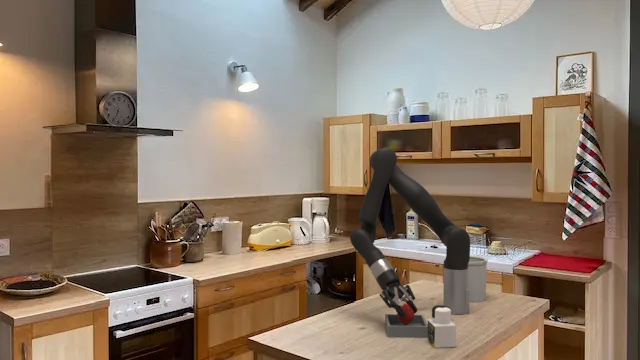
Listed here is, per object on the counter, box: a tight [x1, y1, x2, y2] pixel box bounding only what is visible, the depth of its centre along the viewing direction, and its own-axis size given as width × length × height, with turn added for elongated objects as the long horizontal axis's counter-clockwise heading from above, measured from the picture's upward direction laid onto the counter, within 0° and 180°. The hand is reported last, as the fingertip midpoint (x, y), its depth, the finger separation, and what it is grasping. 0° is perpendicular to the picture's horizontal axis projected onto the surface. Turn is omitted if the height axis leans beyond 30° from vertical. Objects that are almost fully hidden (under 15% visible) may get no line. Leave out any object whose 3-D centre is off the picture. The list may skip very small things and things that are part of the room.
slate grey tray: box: [384, 313, 428, 339], centre depth 172 cm, size 14×14×4 cm
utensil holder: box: [468, 254, 488, 303], centre depth 214 cm, size 15×15×18 cm
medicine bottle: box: [427, 304, 457, 349], centre depth 159 cm, size 7×7×12 cm
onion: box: [396, 301, 415, 325], centre depth 172 cm, size 6×6×8 cm
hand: (409, 314), depth 171 cm, fingers closed on onion, 5 cm apart
